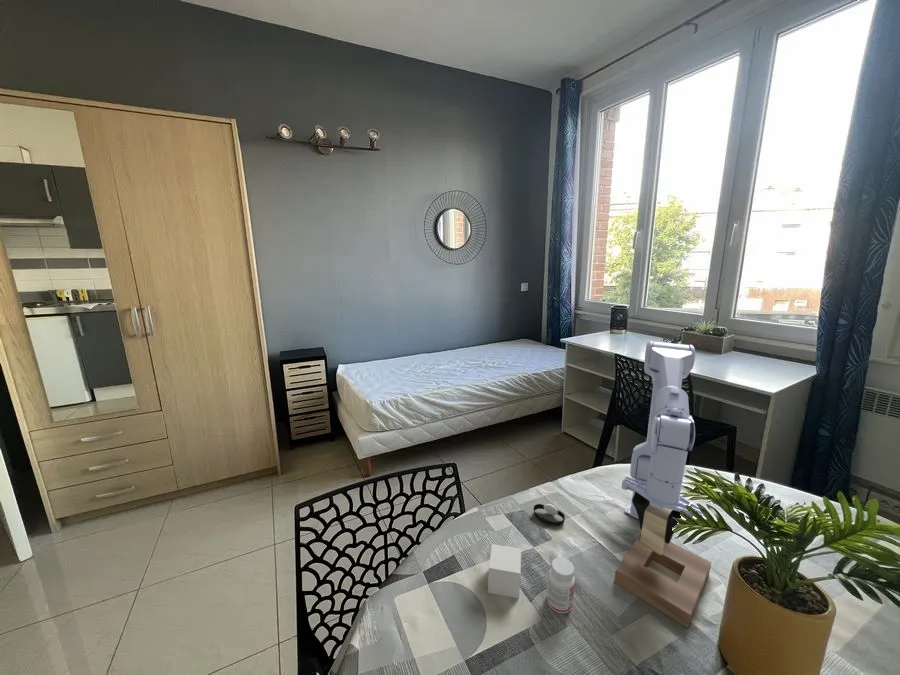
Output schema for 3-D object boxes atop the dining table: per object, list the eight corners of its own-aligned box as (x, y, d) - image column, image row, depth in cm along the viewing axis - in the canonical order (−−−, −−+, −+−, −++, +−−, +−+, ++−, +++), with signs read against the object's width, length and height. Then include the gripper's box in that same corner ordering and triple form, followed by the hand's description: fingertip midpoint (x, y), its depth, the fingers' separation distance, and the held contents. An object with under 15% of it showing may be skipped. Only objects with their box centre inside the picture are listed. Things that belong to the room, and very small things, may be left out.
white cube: (490, 567, 78) (491, 543, 77) (519, 572, 77) (521, 548, 76) (487, 593, 72) (488, 567, 71) (518, 598, 71) (520, 573, 70)
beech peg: (646, 533, 78) (652, 500, 76) (667, 544, 76) (673, 510, 74) (639, 543, 76) (644, 510, 74) (661, 555, 73) (667, 520, 71)
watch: (566, 519, 92) (567, 507, 91) (561, 531, 88) (562, 518, 87) (536, 508, 96) (537, 496, 95) (530, 519, 92) (531, 506, 91)
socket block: (642, 539, 86) (644, 528, 85) (708, 574, 77) (711, 562, 76) (614, 581, 75) (615, 569, 74) (687, 628, 66) (690, 614, 65)
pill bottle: (573, 616, 68) (577, 579, 66) (546, 611, 69) (550, 574, 67) (570, 593, 72) (574, 557, 70) (545, 589, 73) (548, 553, 71)
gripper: (618, 467, 74) (611, 524, 77) (704, 502, 64) (691, 567, 67) (632, 453, 79) (624, 508, 82) (713, 485, 69) (701, 546, 72)
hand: (655, 533), depth 75 cm, fingers closed on beech peg, 4 cm apart
